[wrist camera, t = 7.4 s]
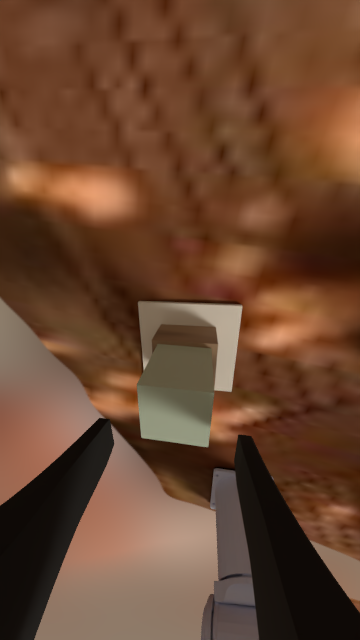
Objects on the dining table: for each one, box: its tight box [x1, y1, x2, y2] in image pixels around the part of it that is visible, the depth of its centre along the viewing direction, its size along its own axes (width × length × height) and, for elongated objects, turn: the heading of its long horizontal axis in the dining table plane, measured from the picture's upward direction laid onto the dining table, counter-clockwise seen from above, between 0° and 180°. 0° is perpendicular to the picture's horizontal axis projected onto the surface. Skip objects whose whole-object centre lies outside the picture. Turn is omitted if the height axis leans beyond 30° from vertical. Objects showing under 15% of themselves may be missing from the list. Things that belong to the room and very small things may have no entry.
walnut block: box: [152, 324, 218, 387], centre depth 18 cm, size 6×6×4 cm
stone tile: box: [138, 301, 242, 392], centre depth 19 cm, size 10×10×1 cm
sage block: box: [137, 344, 214, 447], centre depth 14 cm, size 4×4×5 cm
